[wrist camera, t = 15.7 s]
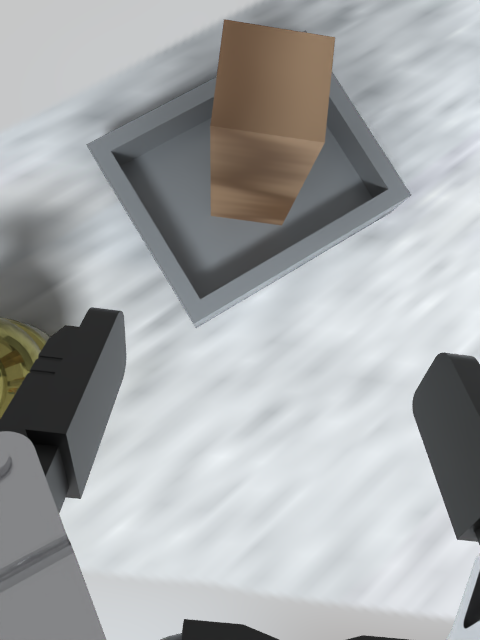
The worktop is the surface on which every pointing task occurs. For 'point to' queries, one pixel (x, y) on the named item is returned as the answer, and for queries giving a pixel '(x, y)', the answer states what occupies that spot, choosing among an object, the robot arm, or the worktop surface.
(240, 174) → the block
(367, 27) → the worktop surface
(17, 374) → the olive green lumpy figure
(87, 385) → the robot arm
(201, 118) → the parts tray
